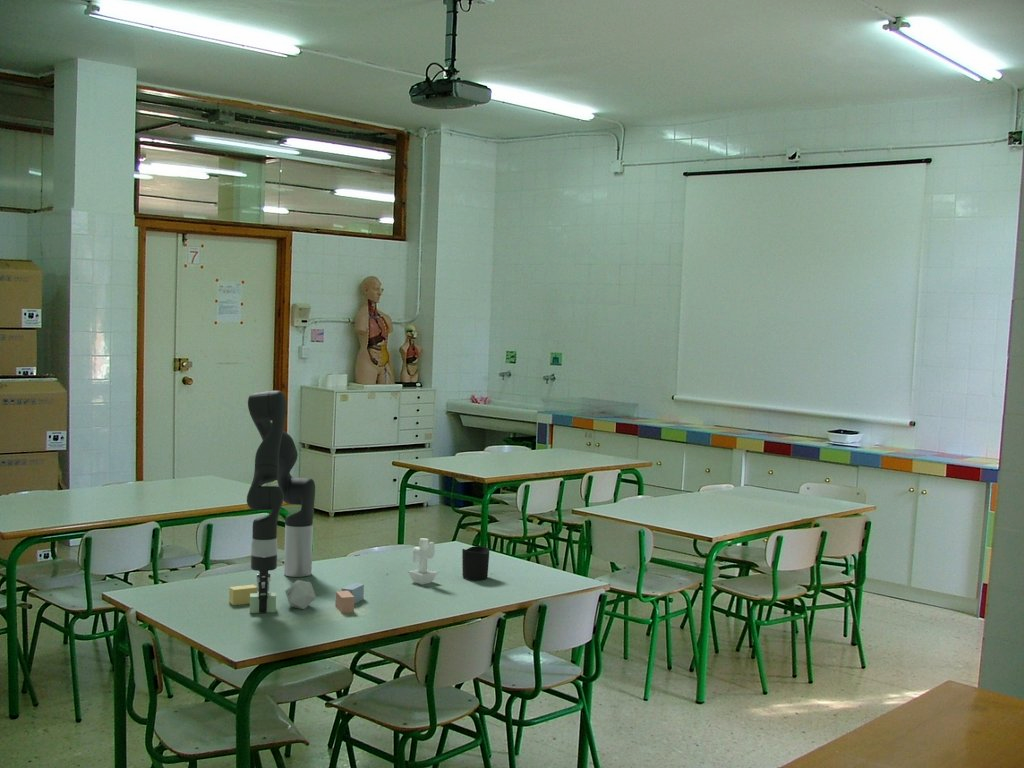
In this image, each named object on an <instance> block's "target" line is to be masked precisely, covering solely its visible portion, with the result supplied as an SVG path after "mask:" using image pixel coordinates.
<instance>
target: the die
mask: <svg viewBox="0 0 1024 768" xmlns="http://www.w3.org/2000/svg"><path fill="white" fill-rule="evenodd" d="M284 593H285V595H286V598H287V601H288V604H289V606H290V608H295V609H300V610H305V609H306V608H307V607H309V605H311V603H312V602H314V601H315V599H317V596H316V592H315V590H314V588H313V585H312V582H310V581H307V580H306V581H305V580H301V579H299V580H298V579H297V580H295V581H294V583H292V584H291V585H290V586H289V587H288V588H287V589H286V590H285V591H284Z"/></svg>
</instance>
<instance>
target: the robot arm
mask: <svg viewBox="0 0 1024 768" xmlns="http://www.w3.org/2000/svg"><path fill="white" fill-rule="evenodd" d="M247 407H248V409H247V410H248V413H249V415H250V417H251V419H252V422H253V423H254V424H253V425H254V426H255V427H256V429H257V431H258V433H259V436H260V437H261V440H262V441H261V442H260V444H259V446H258V447H257V449H256V452H255V457H254V472H253V478H252V481H251V485H250V486H249V490H248V492H247V495H246V505H247V507H248V508H249V509H251V510H252V511H270V512H269V513H268V514H267V515H265V516H261V517H257V518H255V519H254V520H253V521H252V532H251V533H252V535H251V536H252V537H251V538H252V539H251V547H250V549H251V550H250V552H251V553H250V569H251V570H253V571H256V572H257V571H258V572H259V573H257V574H256V582H257V585H256V587H257V593H259V597H258V599H259V612H260V613H261V612H263V613H267V612H266V611H267V599H268V596H267V593H269V591H270V582H271V573H269V571H275V569H277V568H278V540H277V536H278V534H277V533H278V530H277V529H278V520H279V516H280V513H281V512H280V511H281V509H282V507H283V504H284V503H285V504H288V505H298V506H301V507H300V510H299V511H297V512H294V513H289V514H288V515H286V516H285V523H284V528H285V529H284V562H283V563H284V564H283V565H284V566H283V575H284V576H286V577H291V578H294V577H295V578H304V577H308V576H311V575H312V568H313V566H312V565H313V533H314V532H313V530H314V526H313V525H314V513H315V501H316V499H315V498H316V484H315V481H314V479H312V478H311V477H310V478H309V477H295V476H294V477H293V476H292V475H291V471H292V469H293V468H294V466H295V465H296V462H297V460H298V450H297V447H296V444H295V441H294V439H293V438H292V436H291V435H290V434H289V433H288V432H287V431H285V430H284V428H285V422H286V417H287V399H286V397H285V394H284V393H283V391H281V390H268V391H257V392H254V393H251V394H250V395H249V396H248V399H247ZM275 481H277V484H278V485H276V486H275V485H271V486H270V485H269V486H268V485H267V486H265V485H264V484H269V483H273V482H275ZM283 502H284V503H283ZM261 593H266V595H261Z"/></svg>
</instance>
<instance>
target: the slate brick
mask: <svg viewBox="0 0 1024 768" xmlns="http://www.w3.org/2000/svg"><path fill="white" fill-rule="evenodd" d="M340 591H349V592H350V593H351V594H352V595H353V596H354V605H355V604H356V603H359V602H361V601H363V600H364V597H365V596H364V595H365V593H364V592H365V584H364V583H357V582H356V583H355V582H352V583H350V584H348V585H345V586H343V587H342V588H341V589H340Z"/></svg>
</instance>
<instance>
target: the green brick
mask: <svg viewBox="0 0 1024 768" xmlns="http://www.w3.org/2000/svg"><path fill="white" fill-rule="evenodd" d="M261 595H266V593H261ZM267 596H268V599H267V611H266V612H265V613H276V612H277V592H268V593H267ZM258 597H259V592H257V593H250V603H249V613H250V614H251V613H252V614H253V613H255V614H256V613H257V614H258V613H260V612H259V599H258ZM261 613H264V612H261Z"/></svg>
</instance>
